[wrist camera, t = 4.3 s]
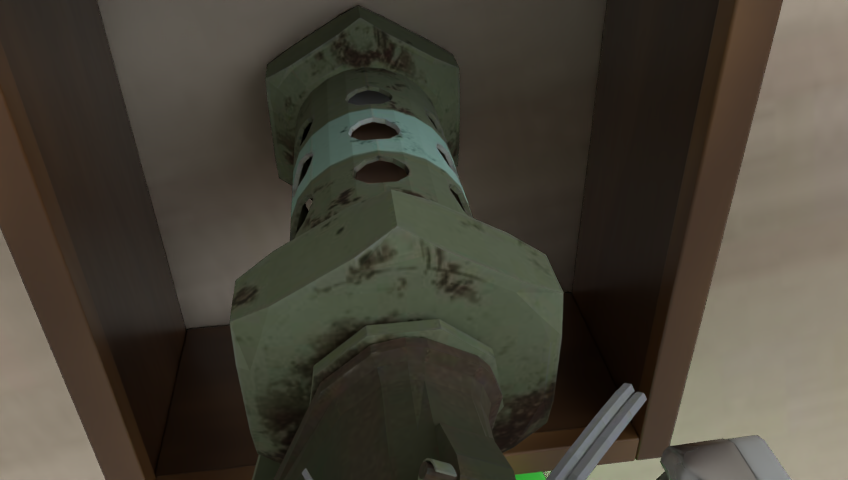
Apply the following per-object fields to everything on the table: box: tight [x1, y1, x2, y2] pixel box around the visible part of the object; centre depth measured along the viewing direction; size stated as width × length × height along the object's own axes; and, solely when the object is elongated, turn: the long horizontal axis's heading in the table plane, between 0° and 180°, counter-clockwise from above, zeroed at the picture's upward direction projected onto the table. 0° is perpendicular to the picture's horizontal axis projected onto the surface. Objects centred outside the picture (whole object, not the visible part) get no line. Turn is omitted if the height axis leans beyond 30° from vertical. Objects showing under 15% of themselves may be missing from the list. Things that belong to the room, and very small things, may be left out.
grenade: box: [230, 6, 647, 480], centre depth 16 cm, size 7×7×15 cm
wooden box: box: [0, 0, 783, 480], centre depth 19 cm, size 16×16×7 cm
